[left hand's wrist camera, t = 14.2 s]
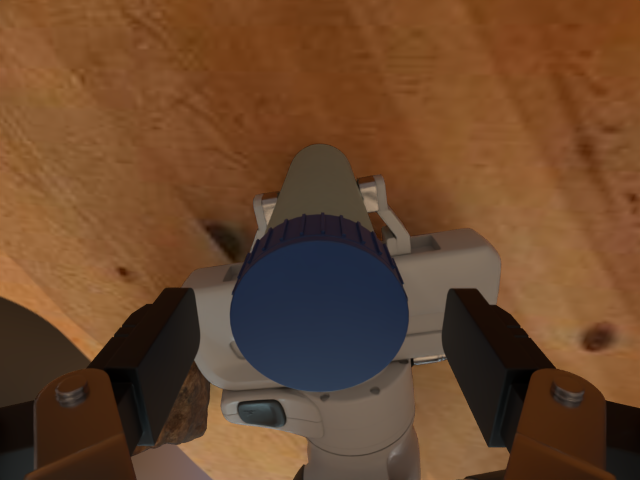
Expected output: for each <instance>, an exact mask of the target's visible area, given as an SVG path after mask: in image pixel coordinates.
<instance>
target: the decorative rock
mask: <svg viewBox="0 0 640 480" xmlns="http://www.w3.org/2000/svg"><path fill="white" fill-rule="evenodd" d="M209 399H210V382H209V381H208V380H207V379H206V378H205V377H204V375H203V374H202V373H201V371H200V370H199V368H198V366H197V364H196V363H195V361H193V364H192V366H191V368H190V370H189V372H188V374H187V377H186V379H185V381H184V383H183V385H182V387H181V390H180V392H179V394H178V396H177V398H176V400H175V403H174V405H173V407H172V409H171V411H170V413H169V416H168V418H167V420H166V422H165V424H164V426H163V429H162V431H161V433H160V435H159V437H158V439H157V442H156V444H155V446H136V448H135V450H134V452H133V454H132V456H134V455H136V454H139V453H141V452H143V451H145V450H148V449H149V448H158V447H160V446H161V445H163V444H166V443H168V444H175V445H178V444H181V443H186V442H189V441H192V440H193V439H195V438H198V437H201V436H203V435H204V433H205V431H206V429H207V416H208V413H207V410H208V409H207V408H208V405H209Z"/></svg>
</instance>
